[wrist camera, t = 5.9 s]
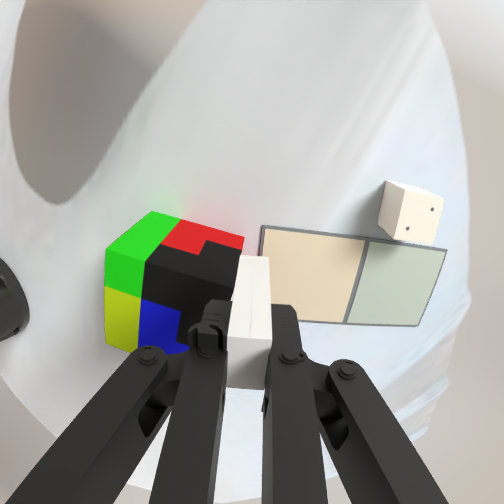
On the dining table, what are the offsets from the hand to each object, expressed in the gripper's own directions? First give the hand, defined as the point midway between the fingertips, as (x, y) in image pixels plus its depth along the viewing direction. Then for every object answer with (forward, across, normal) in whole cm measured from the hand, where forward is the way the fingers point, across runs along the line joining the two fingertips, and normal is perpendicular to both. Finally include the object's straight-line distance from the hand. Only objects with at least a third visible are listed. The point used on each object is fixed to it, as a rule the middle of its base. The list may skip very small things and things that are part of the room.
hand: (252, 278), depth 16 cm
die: (+14, +15, +2) cm, 20 cm away
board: (+13, +12, -7) cm, 19 cm away
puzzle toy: (+14, -7, -7) cm, 17 cm away
